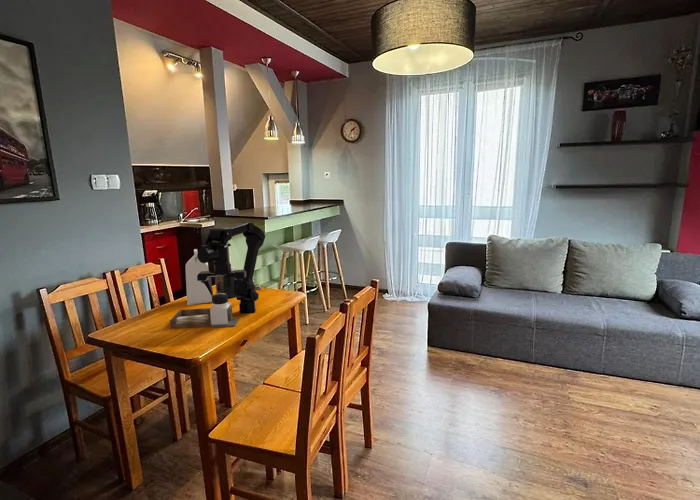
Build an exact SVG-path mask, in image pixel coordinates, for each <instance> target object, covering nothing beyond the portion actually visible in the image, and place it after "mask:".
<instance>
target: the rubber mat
mask: <svg viewBox="0 0 700 500" xmlns="http://www.w3.org/2000/svg"><path fill="white" fill-rule="evenodd" d="M238 321H239V317H232V320H231V321H230V323H229V324H226V325H212V328H213V329H215V328H217V329H218V328H231V327H236V325H237V323H238Z"/></svg>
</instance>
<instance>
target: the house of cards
mask: <svg viewBox="0 0 700 500" xmlns="http://www.w3.org/2000/svg"><path fill="white" fill-rule="evenodd" d="M254 280H256V278H255V276H253V282H254V285H255V291H259V290H260V291H261V289H262V287H261V285H260V284H259V283H258V282H257V281H254Z"/></svg>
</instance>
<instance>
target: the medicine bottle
mask: <svg viewBox="0 0 700 500" xmlns="http://www.w3.org/2000/svg"><path fill="white" fill-rule="evenodd" d="M210 308H211V309H210V316H211V325H212V326H213V325H226V324H229V323H230V321H231V320H232V318H233V312H232V311H233V309H232V303H231V302H229V299H228V295H227V294H223V293H220V294H213V296H212V306H211V307H210Z"/></svg>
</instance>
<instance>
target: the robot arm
mask: <svg viewBox="0 0 700 500" xmlns="http://www.w3.org/2000/svg"><path fill="white" fill-rule="evenodd" d="M240 234H241V235H243V236H244V238H245V244H246V246H247V249H246V250H247V251H246V254H245V259H244V264H243V269H236V271H235V272H231V266H232V264H231V263H230V260H229V248H228V247H231V246H232V244H230V243H229V241H230V240H232V238H233V237H235V236H237V235H240ZM265 239H266V234H265V232H264V231H263V230H262V229H261V228H260V227H258V226H257V225H255V224H254V223H253V222H251V221H241V222H240V223H236V224H233V225H230V226H226V227H212V228H211V229H210V231H209V233H208V235H207V237H206V240H205V242H204V244H203V245H200V249H198V250H197V253H198V254H197V258H198V260H199V261H200V262H201V263H207V262H208V263H210V262H213V269H214V272H211V271H210V270H209V271H201V272H200V273H199V274H198V275H197V281H201V283H204V284H205V286H206V287H207V289H208V290H209V292H210V294H211V296H212V297H213V296H214V289H213V285H212V278H213V279H215V278H216V277H235V280H234V295H235V298H236V300H237V301H240V302H239V304H238V305H239V306H238V307H239V314H241V315H245V314H248V315H249V314H255V313H256V311H257V308H256V302H257V301H258V300H259V295H260V294H259V293H258V292H257V290H255V287H256V286H255V285H256V284H254V282H255V281H254V280H253V279H254V278H253V277H254V275H255V270H256V265H257V259H258V255H259V250H260V248H261V247H262V246H264V242H265Z"/></svg>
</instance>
